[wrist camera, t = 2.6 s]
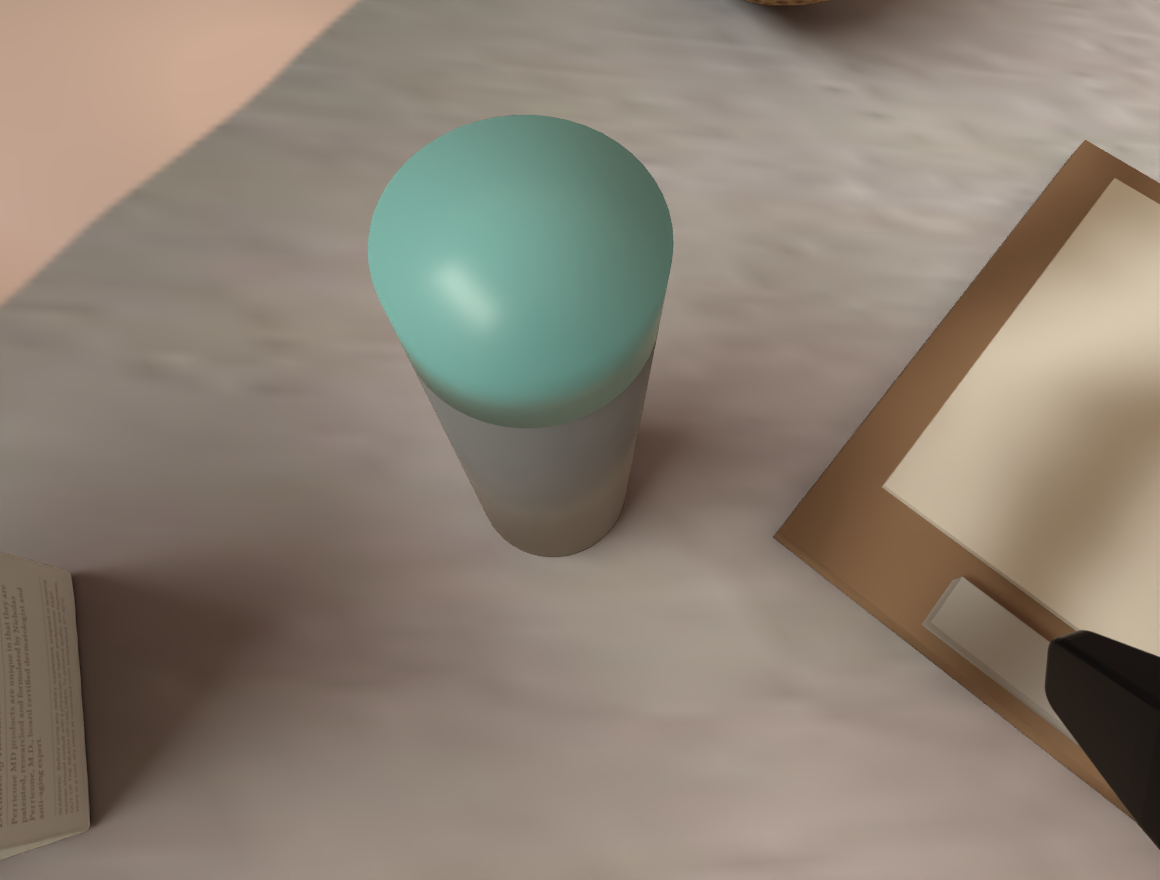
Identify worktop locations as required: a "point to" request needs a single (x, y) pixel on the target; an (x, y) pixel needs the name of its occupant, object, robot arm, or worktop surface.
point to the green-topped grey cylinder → (529, 313)
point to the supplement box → (39, 709)
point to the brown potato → (786, 2)
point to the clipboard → (1017, 459)
